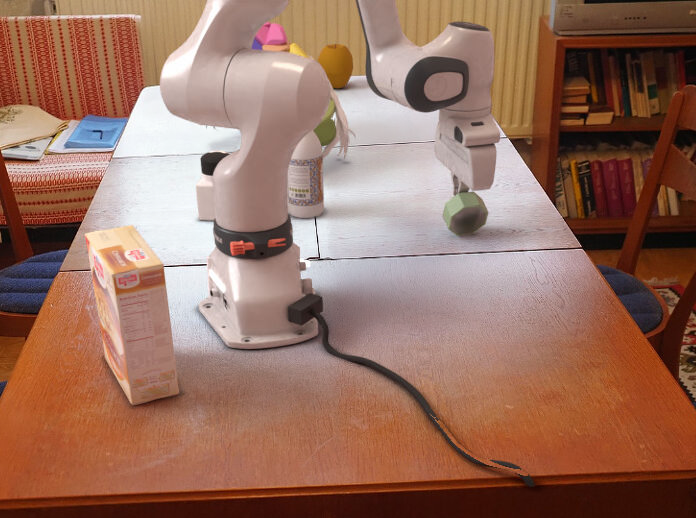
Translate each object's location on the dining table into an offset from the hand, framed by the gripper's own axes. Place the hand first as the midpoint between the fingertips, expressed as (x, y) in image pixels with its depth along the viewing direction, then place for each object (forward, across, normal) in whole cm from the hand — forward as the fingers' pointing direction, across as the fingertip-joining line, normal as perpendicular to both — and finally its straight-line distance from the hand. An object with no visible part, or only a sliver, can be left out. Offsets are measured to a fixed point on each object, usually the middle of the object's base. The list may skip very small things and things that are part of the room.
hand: (460, 198), depth 174 cm
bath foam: (+6, -17, -25) cm, 31 cm away
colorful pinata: (+6, -53, -23) cm, 58 cm away
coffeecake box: (+6, +37, -61) cm, 72 cm away
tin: (+2, +3, 0) cm, 3 cm away
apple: (+6, -105, +4) cm, 105 cm away
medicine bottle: (+6, -21, -41) cm, 46 cm away
